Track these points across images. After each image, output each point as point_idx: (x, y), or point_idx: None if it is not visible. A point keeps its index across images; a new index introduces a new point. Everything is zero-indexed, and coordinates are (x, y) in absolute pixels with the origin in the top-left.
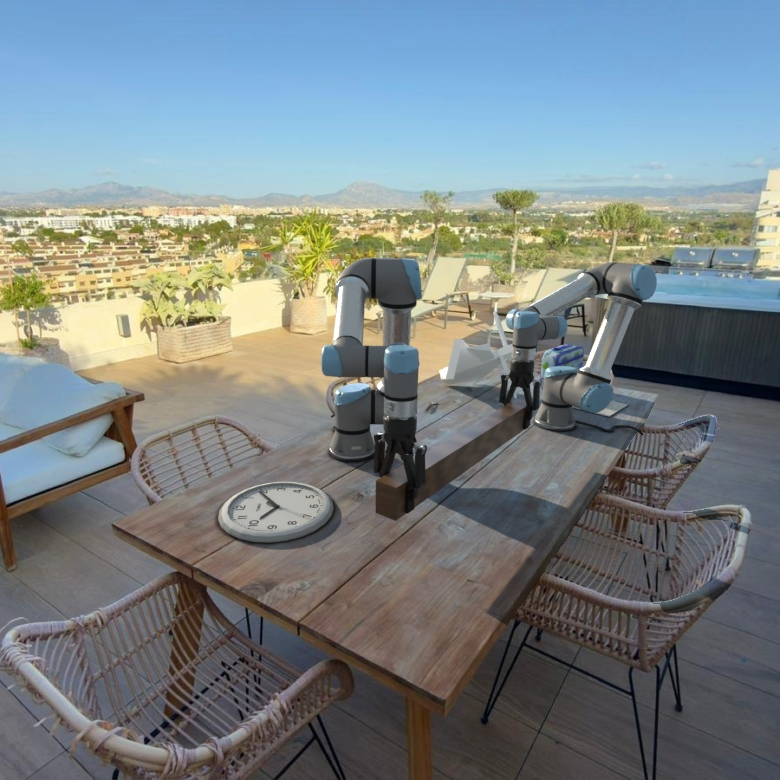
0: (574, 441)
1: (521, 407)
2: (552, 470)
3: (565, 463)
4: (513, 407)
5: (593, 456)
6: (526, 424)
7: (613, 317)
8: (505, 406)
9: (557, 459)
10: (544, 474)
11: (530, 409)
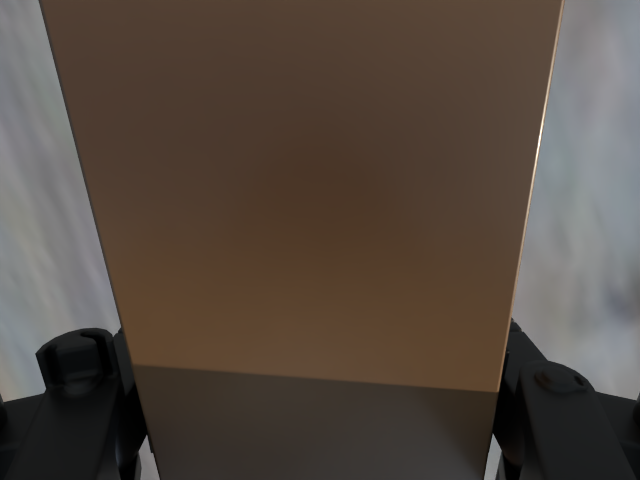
0: (158, 476)
1: (170, 334)
2: (21, 97)
3: (36, 235)
4: (297, 221)
5: (5, 388)
6: None
7: None
8: (489, 157)
9: (93, 255)
10: (14, 3)
11: (50, 389)
